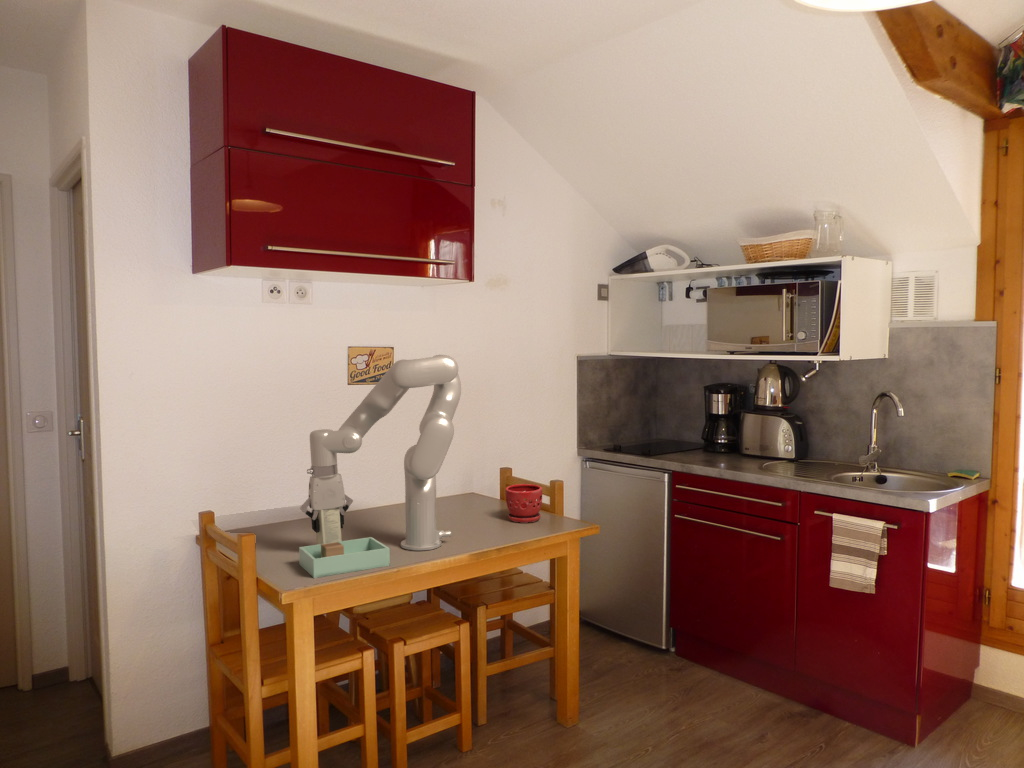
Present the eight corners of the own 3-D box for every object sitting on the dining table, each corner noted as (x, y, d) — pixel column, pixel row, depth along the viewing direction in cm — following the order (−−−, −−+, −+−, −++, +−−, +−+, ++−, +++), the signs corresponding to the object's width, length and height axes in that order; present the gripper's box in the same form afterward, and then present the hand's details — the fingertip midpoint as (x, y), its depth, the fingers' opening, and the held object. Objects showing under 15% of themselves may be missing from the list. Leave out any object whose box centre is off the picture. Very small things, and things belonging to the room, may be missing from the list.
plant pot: (505, 516, 271) (505, 483, 271) (541, 516, 271) (541, 483, 271) (505, 524, 258) (505, 490, 258) (543, 524, 258) (543, 490, 258)
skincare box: (335, 541, 228) (332, 502, 227) (342, 543, 225) (339, 504, 224) (316, 545, 224) (313, 505, 223) (323, 548, 220) (320, 507, 220)
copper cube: (343, 563, 210) (343, 545, 210) (326, 566, 208) (326, 548, 207) (338, 559, 214) (338, 541, 214) (321, 561, 212) (320, 544, 212)
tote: (371, 553, 223) (371, 536, 223) (389, 565, 210) (389, 548, 210) (299, 564, 212) (299, 547, 212) (313, 578, 199) (313, 559, 199)
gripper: (299, 476, 215) (303, 537, 216) (356, 468, 224) (360, 527, 225) (292, 473, 222) (296, 532, 223) (348, 465, 230) (352, 522, 232)
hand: (328, 529), depth 224 cm, fingers closed on skincare box, 6 cm apart
